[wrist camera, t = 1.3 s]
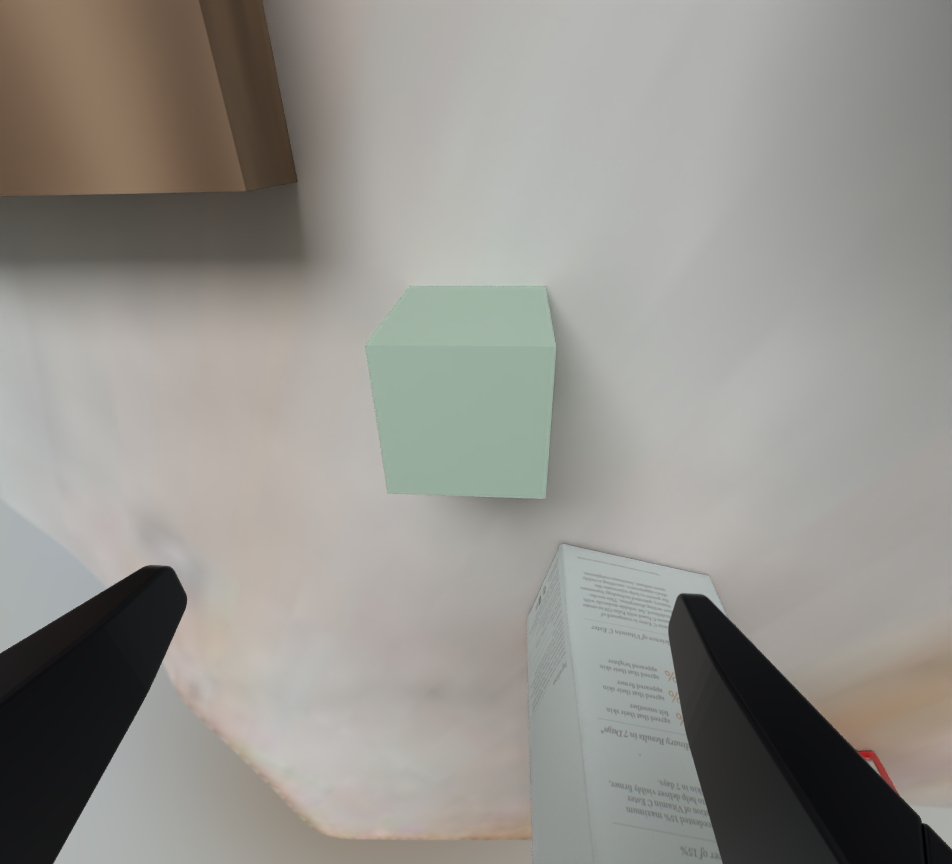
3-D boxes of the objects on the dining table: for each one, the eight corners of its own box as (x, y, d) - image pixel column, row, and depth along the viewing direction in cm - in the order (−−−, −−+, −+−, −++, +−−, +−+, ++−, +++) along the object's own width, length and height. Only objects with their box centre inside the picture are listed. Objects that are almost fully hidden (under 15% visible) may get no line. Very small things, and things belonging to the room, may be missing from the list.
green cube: (545, 285, 17) (556, 346, 12) (538, 406, 20) (545, 498, 15) (409, 285, 18) (365, 345, 12) (420, 404, 20) (387, 493, 15)
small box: (524, 617, 27) (528, 950, 16) (559, 538, 24) (595, 892, 12) (660, 646, 27) (756, 991, 16) (714, 573, 24) (880, 945, 13)
